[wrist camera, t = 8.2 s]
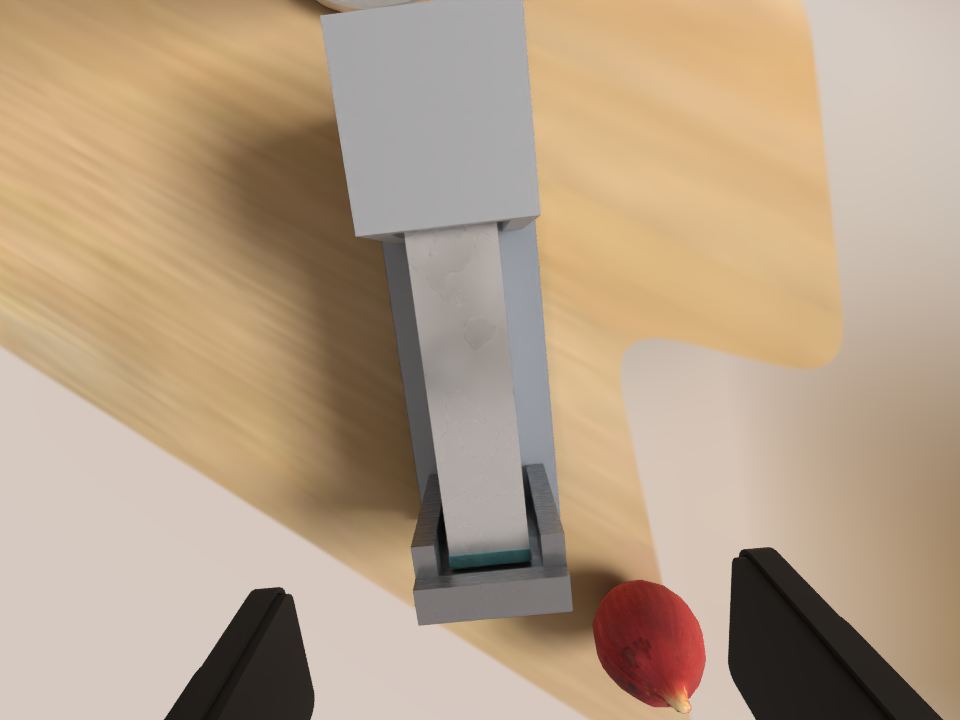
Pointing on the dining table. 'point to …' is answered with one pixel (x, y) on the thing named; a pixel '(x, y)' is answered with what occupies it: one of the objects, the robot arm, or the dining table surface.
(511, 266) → the board
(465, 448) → the grey rectangular block
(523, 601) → the socket
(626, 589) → the onion
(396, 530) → the dining table surface
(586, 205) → the dining table surface
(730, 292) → the dining table surface
